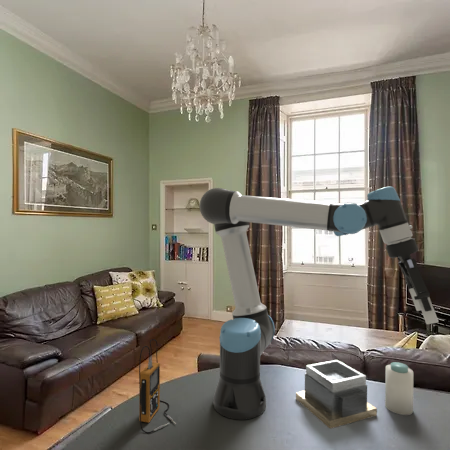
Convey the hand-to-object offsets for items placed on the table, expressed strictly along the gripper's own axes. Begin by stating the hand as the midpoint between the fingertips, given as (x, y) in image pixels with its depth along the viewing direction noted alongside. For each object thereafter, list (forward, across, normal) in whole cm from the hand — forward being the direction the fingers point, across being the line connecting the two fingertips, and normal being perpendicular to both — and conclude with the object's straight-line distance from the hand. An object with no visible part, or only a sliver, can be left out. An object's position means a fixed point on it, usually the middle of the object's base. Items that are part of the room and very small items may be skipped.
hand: (426, 316), depth 87 cm
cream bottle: (+24, +3, +15) cm, 29 cm away
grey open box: (+19, -4, +31) cm, 36 cm away
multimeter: (+5, -27, +72) cm, 77 cm away
